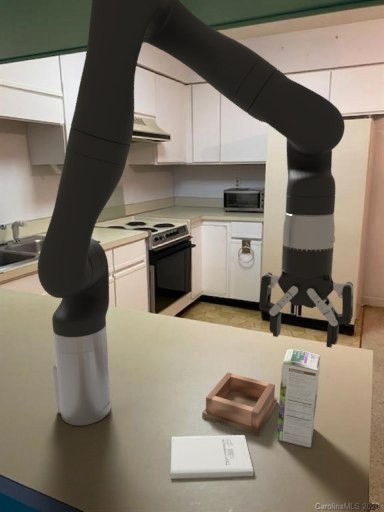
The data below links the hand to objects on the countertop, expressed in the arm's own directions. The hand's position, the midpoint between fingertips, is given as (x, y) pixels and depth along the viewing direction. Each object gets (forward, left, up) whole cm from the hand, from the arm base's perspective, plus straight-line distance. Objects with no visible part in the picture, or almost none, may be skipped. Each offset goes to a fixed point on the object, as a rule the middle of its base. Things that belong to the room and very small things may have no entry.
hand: (302, 340), depth 63 cm
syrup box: (0, 0, -18) cm, 18 cm away
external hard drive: (-11, -12, -19) cm, 25 cm away
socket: (-11, +2, -18) cm, 21 cm away
